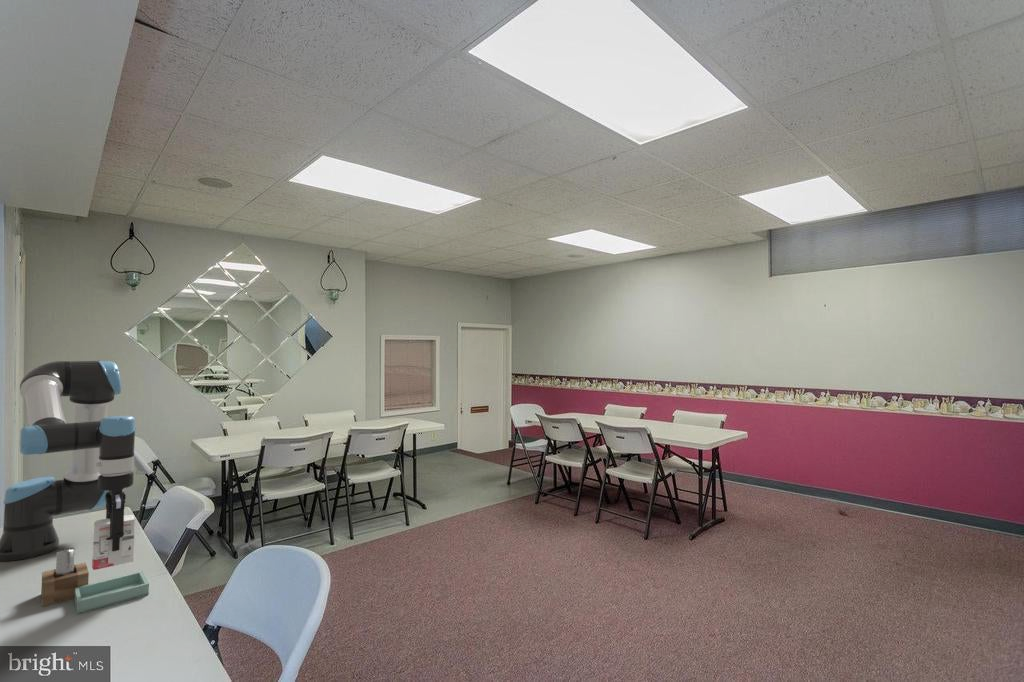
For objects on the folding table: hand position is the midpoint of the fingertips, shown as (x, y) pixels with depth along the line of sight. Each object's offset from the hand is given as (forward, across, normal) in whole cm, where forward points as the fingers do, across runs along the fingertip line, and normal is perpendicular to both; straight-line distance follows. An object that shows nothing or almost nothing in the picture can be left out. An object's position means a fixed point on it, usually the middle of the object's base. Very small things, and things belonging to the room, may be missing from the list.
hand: (113, 558), depth 131 cm
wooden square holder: (+10, -11, -9) cm, 17 cm away
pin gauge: (+10, -11, -9) cm, 17 cm away
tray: (+10, 0, 0) cm, 10 cm away
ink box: (+1, 0, 0) cm, 1 cm away
